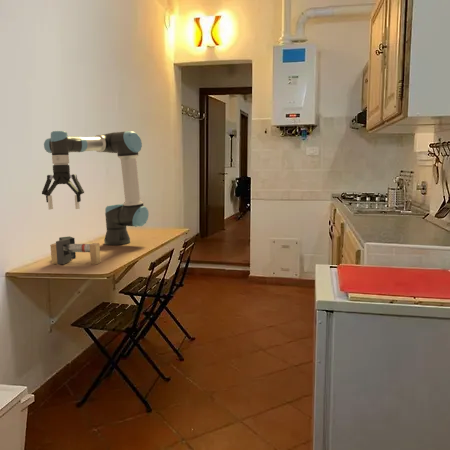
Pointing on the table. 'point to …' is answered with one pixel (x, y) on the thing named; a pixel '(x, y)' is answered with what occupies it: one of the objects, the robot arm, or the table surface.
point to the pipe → (91, 248)
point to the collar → (62, 251)
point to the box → (72, 241)
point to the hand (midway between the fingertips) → (64, 209)
